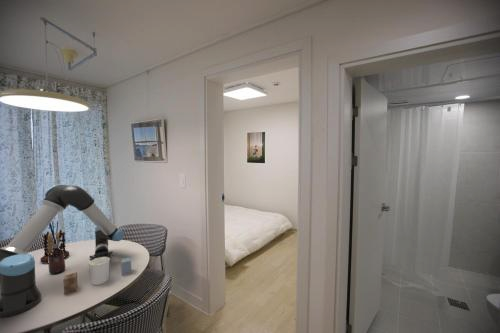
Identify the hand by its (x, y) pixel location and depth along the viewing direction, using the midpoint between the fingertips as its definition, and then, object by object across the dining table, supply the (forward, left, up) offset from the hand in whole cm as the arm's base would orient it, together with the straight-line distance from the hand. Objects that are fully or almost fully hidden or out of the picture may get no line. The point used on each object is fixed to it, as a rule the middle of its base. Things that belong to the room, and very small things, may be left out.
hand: (100, 266), depth 128 cm
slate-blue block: (+13, -3, -7) cm, 15 cm away
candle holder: (0, -5, -7) cm, 8 cm away
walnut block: (-13, -7, -7) cm, 16 cm away
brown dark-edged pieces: (-27, +43, -7) cm, 52 cm away
